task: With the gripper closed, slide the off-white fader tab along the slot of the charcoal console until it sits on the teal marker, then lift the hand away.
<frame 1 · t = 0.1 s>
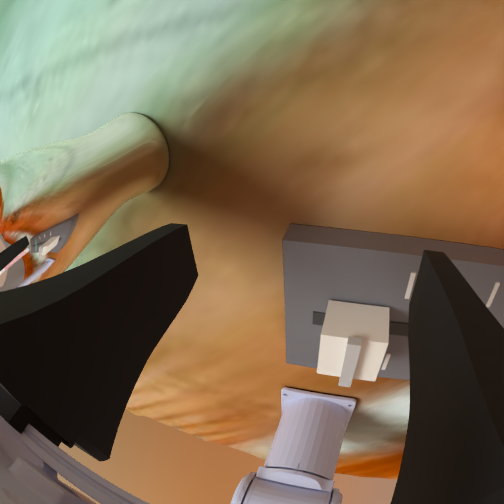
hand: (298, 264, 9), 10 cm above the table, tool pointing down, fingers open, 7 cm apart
fader tab: (352, 345, 19), point 4 cm above the table, slide at 0.0 cm
beer glass: (137, 151, 21), on the table
console: (434, 312, 20), on the table
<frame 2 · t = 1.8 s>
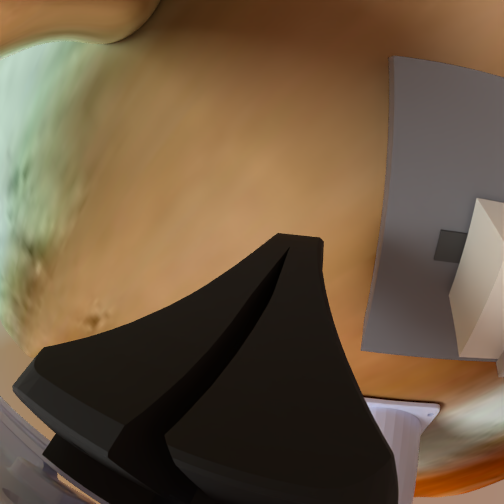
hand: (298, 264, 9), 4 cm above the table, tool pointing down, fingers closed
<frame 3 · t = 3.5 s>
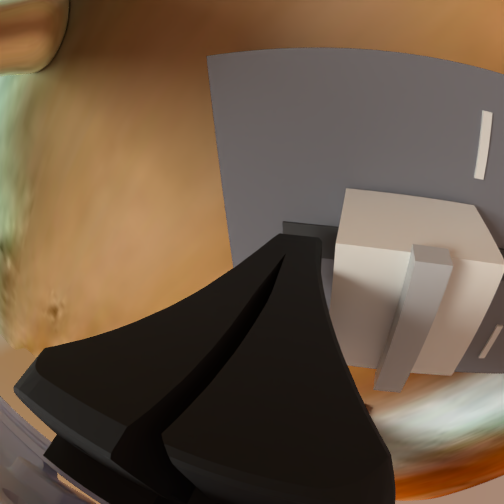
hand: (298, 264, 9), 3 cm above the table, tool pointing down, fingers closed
fader tab: (406, 291, 8), point 4 cm above the table, slide at 1.0 cm, touching gripper
beer glass: (40, 22, 10), on the table
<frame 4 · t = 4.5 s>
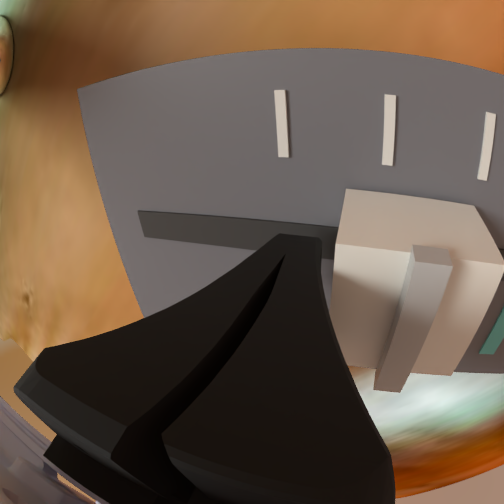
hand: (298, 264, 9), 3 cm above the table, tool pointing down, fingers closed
fader tab: (406, 291, 8), point 4 cm above the table, slide at 6.9 cm, touching gripper
console: (377, 219, 11), on the table
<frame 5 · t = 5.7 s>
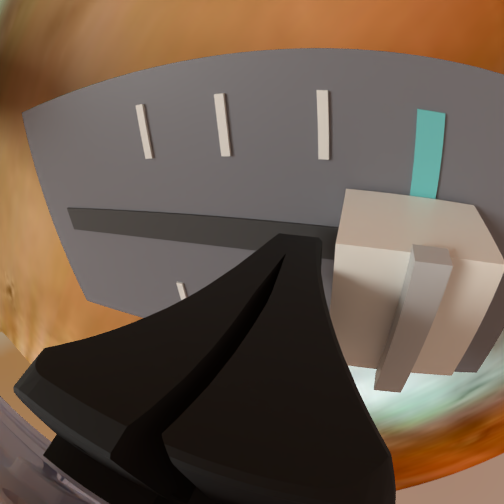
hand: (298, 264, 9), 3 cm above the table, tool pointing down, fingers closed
fader tab: (406, 291, 8), point 4 cm above the table, slide at 11.7 cm, touching gripper
console: (254, 207, 13), on the table
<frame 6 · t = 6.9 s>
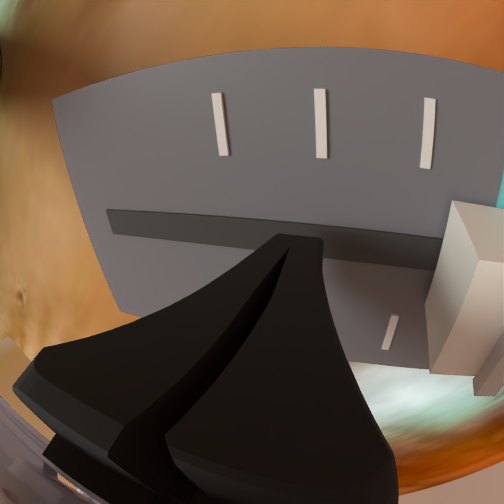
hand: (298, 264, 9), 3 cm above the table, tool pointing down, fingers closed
console: (328, 213, 12), on the table
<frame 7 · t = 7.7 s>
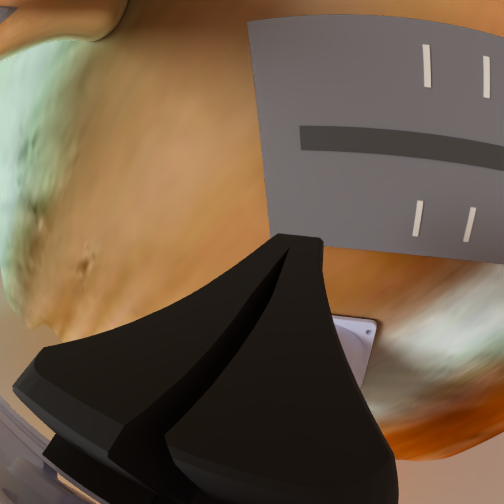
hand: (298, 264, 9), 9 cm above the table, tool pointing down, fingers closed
beer glass: (99, 2, 14), on the table
console: (470, 143, 13), on the table
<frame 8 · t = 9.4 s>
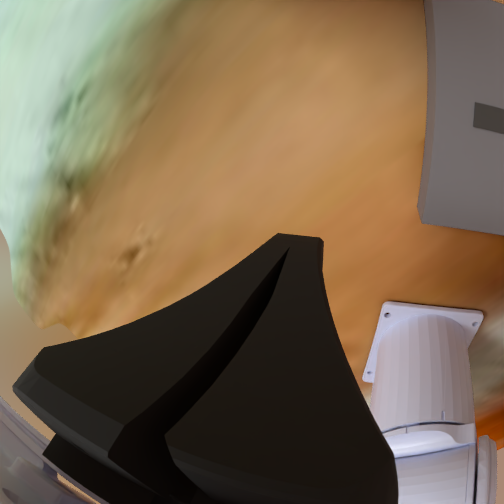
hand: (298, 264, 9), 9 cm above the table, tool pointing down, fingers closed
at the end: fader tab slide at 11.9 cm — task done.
